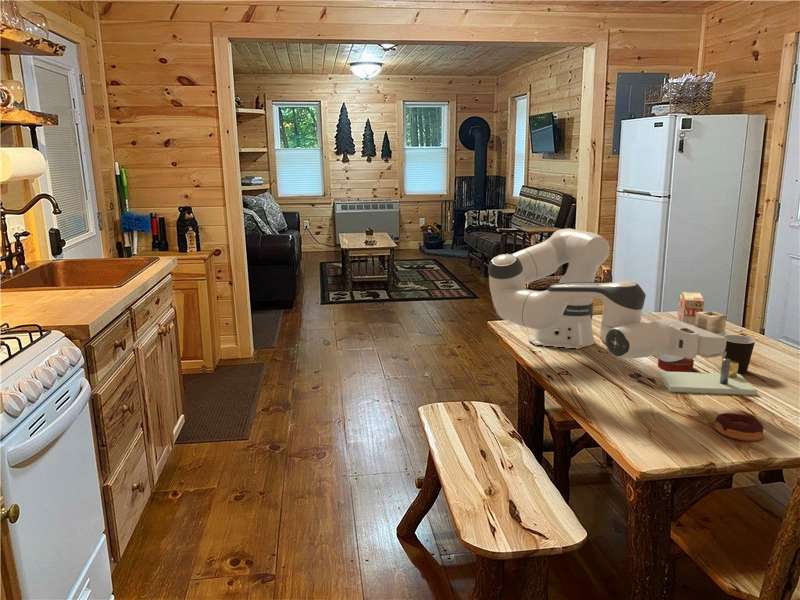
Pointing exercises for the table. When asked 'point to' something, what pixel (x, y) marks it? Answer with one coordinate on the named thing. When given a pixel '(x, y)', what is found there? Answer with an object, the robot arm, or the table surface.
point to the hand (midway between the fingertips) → (712, 331)
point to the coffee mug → (739, 351)
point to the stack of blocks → (689, 307)
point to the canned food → (675, 363)
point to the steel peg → (725, 371)
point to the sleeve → (711, 324)
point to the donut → (739, 426)
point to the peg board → (705, 383)
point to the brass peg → (733, 369)
